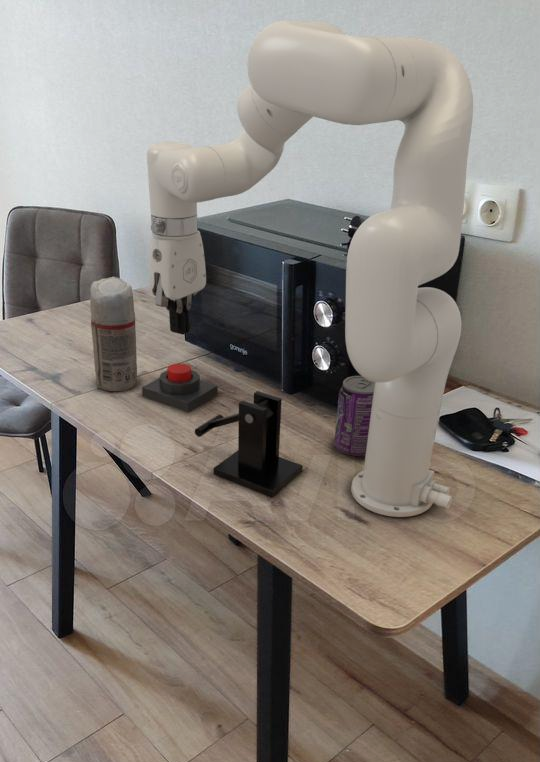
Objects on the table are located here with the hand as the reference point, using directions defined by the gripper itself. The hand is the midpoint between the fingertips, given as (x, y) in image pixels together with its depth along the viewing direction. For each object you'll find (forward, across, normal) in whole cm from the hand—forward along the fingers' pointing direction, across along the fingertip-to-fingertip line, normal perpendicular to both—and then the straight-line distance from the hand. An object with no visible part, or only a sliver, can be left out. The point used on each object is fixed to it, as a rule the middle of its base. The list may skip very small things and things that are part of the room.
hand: (180, 331), depth 126 cm
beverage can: (+14, +2, -35) cm, 38 cm away
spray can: (+13, -3, +14) cm, 19 cm away
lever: (+6, -14, -22) cm, 27 cm away
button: (+9, 0, +1) cm, 9 cm away
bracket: (+13, -14, -26) cm, 32 cm away
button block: (+13, 0, +1) cm, 13 cm away
